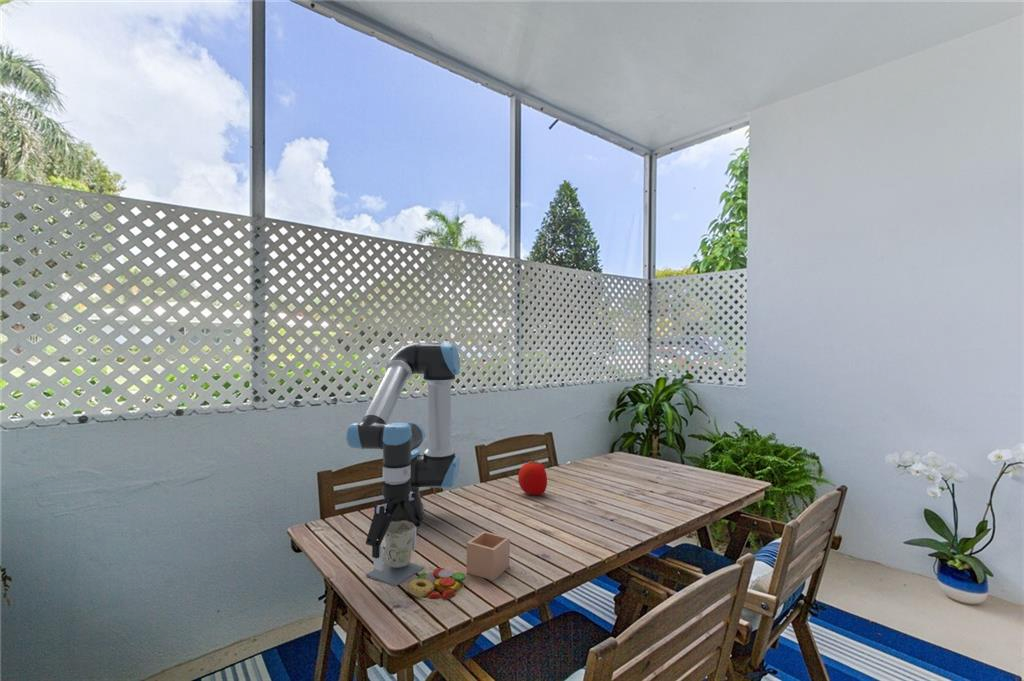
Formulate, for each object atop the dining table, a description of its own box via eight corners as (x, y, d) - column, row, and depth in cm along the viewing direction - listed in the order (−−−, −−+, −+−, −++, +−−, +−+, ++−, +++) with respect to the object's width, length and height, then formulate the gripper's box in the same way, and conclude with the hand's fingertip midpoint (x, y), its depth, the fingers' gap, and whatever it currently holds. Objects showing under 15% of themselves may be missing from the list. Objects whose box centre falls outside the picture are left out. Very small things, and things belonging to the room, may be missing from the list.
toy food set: (401, 599, 110) (401, 586, 110) (429, 573, 122) (429, 561, 122) (448, 611, 105) (448, 597, 105) (472, 583, 117) (473, 571, 117)
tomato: (552, 493, 188) (552, 460, 188) (539, 501, 178) (539, 466, 178) (526, 488, 194) (527, 455, 195) (512, 495, 185) (513, 461, 185)
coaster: (365, 576, 120) (365, 574, 120) (395, 559, 129) (395, 557, 129) (395, 587, 114) (396, 585, 114) (424, 569, 124) (424, 567, 124)
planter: (466, 575, 121) (466, 542, 121) (483, 562, 128) (484, 531, 128) (493, 584, 116) (493, 550, 117) (509, 570, 124) (509, 537, 124)
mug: (419, 557, 127) (419, 522, 127) (399, 579, 115) (400, 541, 115) (392, 553, 129) (392, 519, 129) (370, 576, 117) (370, 538, 117)
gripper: (372, 495, 109) (371, 582, 109) (435, 471, 131) (434, 544, 131) (351, 490, 113) (350, 574, 113) (416, 467, 134) (415, 538, 134)
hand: (395, 558), depth 122 cm, fingers closed on mug, 12 cm apart
